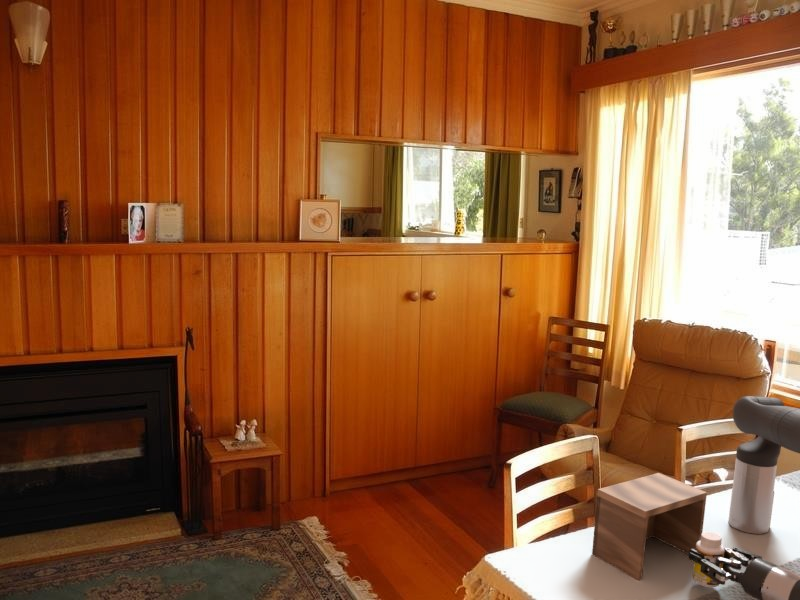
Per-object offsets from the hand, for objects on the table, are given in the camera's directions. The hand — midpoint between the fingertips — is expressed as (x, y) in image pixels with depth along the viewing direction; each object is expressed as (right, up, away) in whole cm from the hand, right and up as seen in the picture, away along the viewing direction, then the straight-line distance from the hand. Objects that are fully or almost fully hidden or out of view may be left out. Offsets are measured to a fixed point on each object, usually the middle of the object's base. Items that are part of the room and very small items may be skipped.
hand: (698, 550), depth 160 cm
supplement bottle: (+1, -7, -1) cm, 7 cm away
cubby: (-7, -5, +12) cm, 15 cm away
